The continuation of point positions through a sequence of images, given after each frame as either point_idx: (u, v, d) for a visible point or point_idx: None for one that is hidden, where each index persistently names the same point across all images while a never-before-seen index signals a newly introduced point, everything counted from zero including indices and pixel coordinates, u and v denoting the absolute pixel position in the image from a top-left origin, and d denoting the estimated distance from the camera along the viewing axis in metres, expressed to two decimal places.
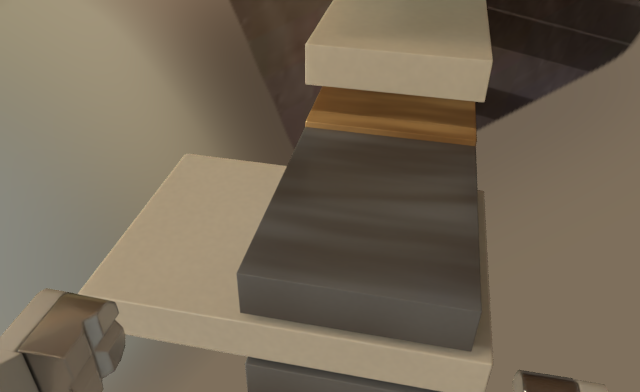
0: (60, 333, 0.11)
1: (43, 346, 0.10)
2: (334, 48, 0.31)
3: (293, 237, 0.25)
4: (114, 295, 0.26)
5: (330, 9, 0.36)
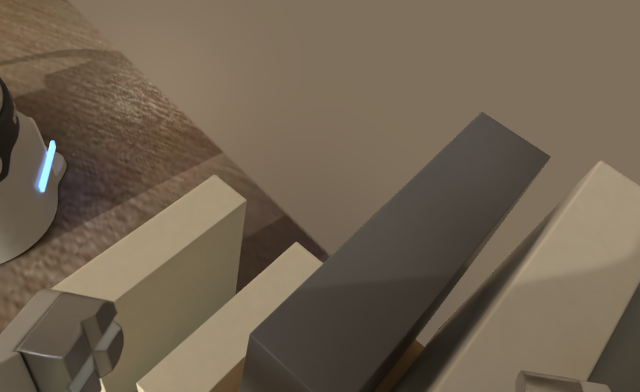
0: (58, 333, 0.11)
1: (41, 346, 0.10)
2: (168, 357, 0.24)
3: None
4: None
5: None
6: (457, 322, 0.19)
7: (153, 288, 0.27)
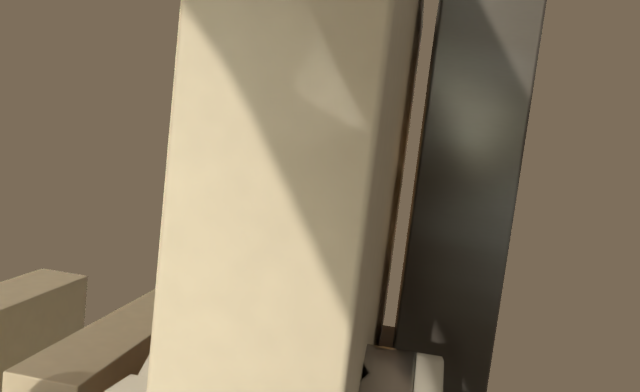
0: None
1: None
2: (42, 351, 0.18)
3: None
4: None
5: None
6: None
7: None
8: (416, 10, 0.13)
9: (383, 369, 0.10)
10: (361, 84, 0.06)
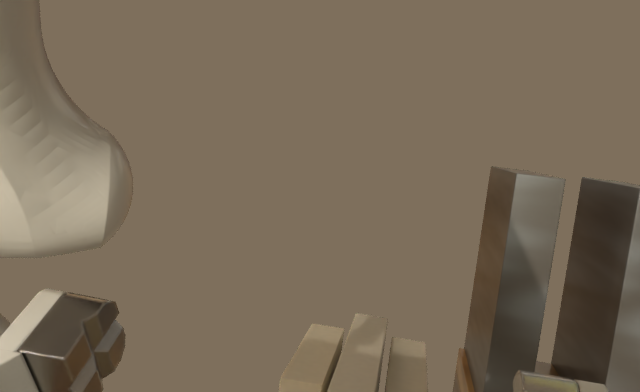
0: (60, 333, 0.11)
1: (43, 346, 0.10)
2: (387, 384, 0.33)
3: (503, 221, 0.31)
4: None
5: None
6: None
7: (329, 383, 0.35)
8: None
9: None
10: None
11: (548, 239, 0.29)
